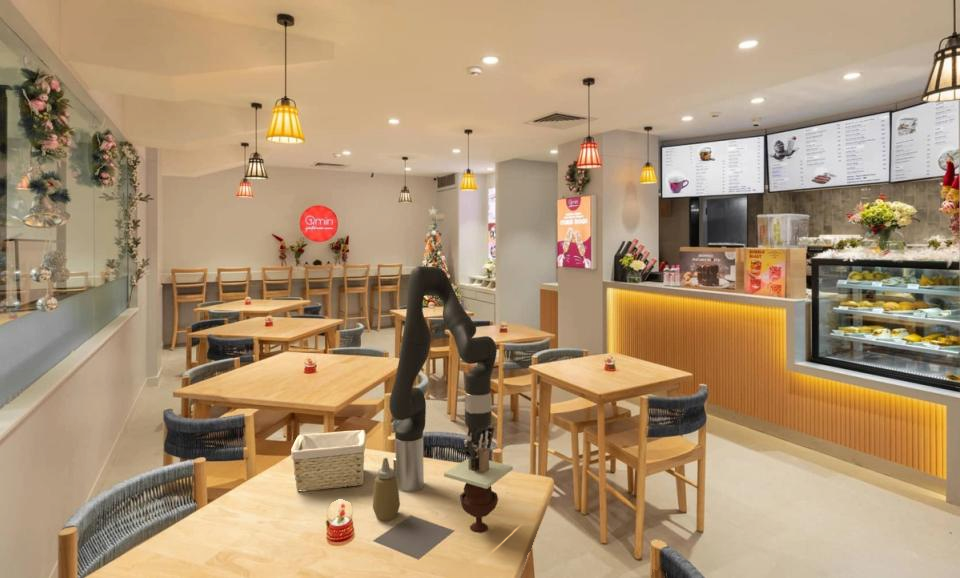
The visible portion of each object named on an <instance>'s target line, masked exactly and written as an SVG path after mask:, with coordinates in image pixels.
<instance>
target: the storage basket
mask: <svg viewBox="0 0 960 578" xmlns="http://www.w3.org/2000/svg"><path fill="white" fill-rule="evenodd" d="M366 442H367V435H366V431H365V430H364V429H361V430H345V431H334V432H332V431H331V432H320V433H319V432H317V433H316V432H315V433H305V434H304V433H302V434H299V435H297V437H296V439H295V440H294V443H293V445H292V446H291V451H290V453H291V459H292V461H293V469H294V471H293V472H294V476H295V477H294V480H295V485H296V486H295V487H296V492H299V490H310V491H317V490H319V491H321V489H322V490H326V489H327V490H329V489H338V488H348V487H355V486H361V485H363V483H364V475H365V468H364V467H365V466H364V463H365V451H366ZM347 486H348V487H347Z"/></svg>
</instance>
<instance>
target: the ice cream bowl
mask: <svg viewBox="0 0 960 578" xmlns="http://www.w3.org/2000/svg"><path fill="white" fill-rule="evenodd" d="M459 498H460V505H461V507H462V509H463V511H464V512H465V513H466V514H468V515H470V516H471V517H473V518H475V522H473V523H472V524H471V525H469V529H470V531H471V532H473V533H479V534H480V533H481V534H482V533H485V532H487V530H489V526H488V524H487V523H485V522H483V517H487V516H488V515H490V513H491V512H492V511H493V510H494V509H496V507H497V505H498V501H499V497H498V493H497V492H495V491H494V490H492V485H491V486H490V487H489V488H487V489H486V488H482V487H479V486H475V485H472V484H468V483H465V484H464V486H463V492H462V493H461V494H460V495H459Z"/></svg>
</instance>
